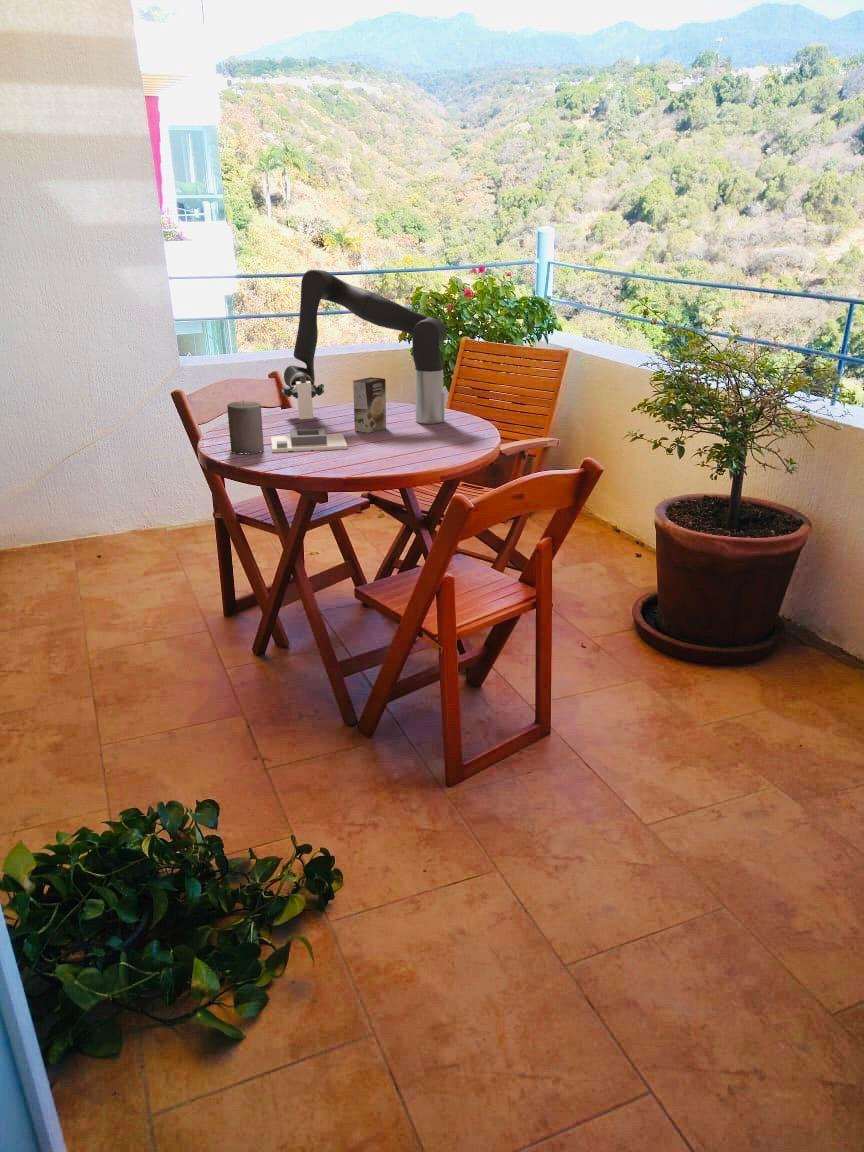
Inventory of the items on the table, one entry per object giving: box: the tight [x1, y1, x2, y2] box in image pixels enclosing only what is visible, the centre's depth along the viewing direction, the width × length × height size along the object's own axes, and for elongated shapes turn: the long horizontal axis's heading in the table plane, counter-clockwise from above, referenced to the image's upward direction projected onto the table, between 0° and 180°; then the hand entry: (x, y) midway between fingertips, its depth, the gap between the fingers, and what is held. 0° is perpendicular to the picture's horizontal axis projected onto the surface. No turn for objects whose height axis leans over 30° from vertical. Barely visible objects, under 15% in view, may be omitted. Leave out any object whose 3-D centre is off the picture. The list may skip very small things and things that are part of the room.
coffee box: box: [352, 376, 387, 434], centre depth 268 cm, size 9×6×16 cm
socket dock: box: [270, 427, 348, 453], centre depth 252 cm, size 22×16×4 cm
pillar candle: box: [226, 399, 265, 455], centre depth 243 cm, size 10×10×15 cm
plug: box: [296, 375, 314, 420], centre depth 261 cm, size 4×4×13 cm
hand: (304, 394), depth 258 cm, fingers closed on plug, 4 cm apart
